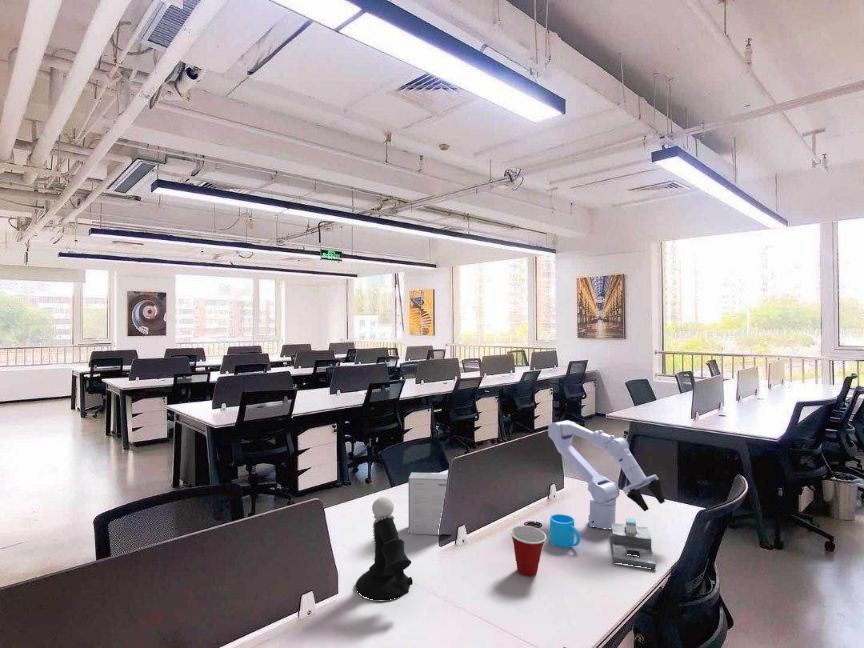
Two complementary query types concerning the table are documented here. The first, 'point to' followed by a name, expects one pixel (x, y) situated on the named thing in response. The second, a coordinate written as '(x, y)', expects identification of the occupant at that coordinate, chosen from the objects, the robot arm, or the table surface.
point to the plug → (630, 526)
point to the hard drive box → (426, 502)
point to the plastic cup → (527, 548)
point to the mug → (563, 531)
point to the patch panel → (632, 546)
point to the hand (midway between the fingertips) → (654, 506)
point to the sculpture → (385, 558)
